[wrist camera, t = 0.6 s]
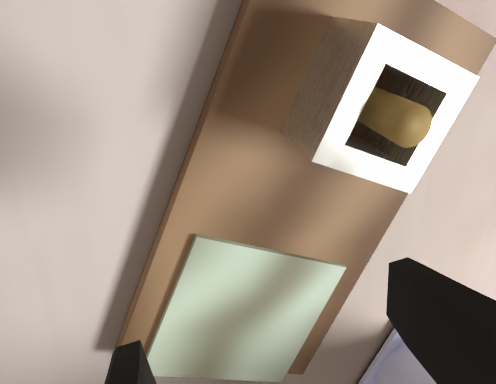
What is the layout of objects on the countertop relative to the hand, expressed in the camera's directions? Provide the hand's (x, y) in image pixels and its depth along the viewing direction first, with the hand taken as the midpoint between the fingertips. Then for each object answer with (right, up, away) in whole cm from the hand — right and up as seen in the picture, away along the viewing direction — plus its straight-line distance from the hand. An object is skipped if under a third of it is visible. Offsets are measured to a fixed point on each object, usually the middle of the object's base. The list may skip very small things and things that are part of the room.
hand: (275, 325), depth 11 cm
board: (+1, +3, +10) cm, 11 cm away
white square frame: (+4, +8, +7) cm, 11 cm away
